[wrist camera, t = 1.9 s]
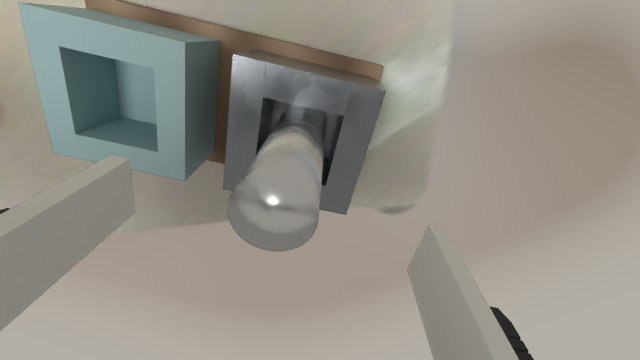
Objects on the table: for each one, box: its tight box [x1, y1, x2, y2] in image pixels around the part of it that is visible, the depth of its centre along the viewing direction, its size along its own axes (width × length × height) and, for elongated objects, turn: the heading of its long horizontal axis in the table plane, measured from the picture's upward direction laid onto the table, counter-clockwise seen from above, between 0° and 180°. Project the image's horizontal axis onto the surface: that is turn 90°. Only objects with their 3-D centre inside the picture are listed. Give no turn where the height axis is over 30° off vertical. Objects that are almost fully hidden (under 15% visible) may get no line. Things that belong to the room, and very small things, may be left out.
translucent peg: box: [228, 104, 326, 251], centre depth 19 cm, size 4×4×14 cm
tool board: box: [85, 0, 384, 164], centre depth 26 cm, size 24×12×2 cm, turn 77°
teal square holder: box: [18, 2, 219, 181], centre depth 22 cm, size 10×10×6 cm
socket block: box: [223, 49, 386, 215], centre depth 23 cm, size 10×10×6 cm
